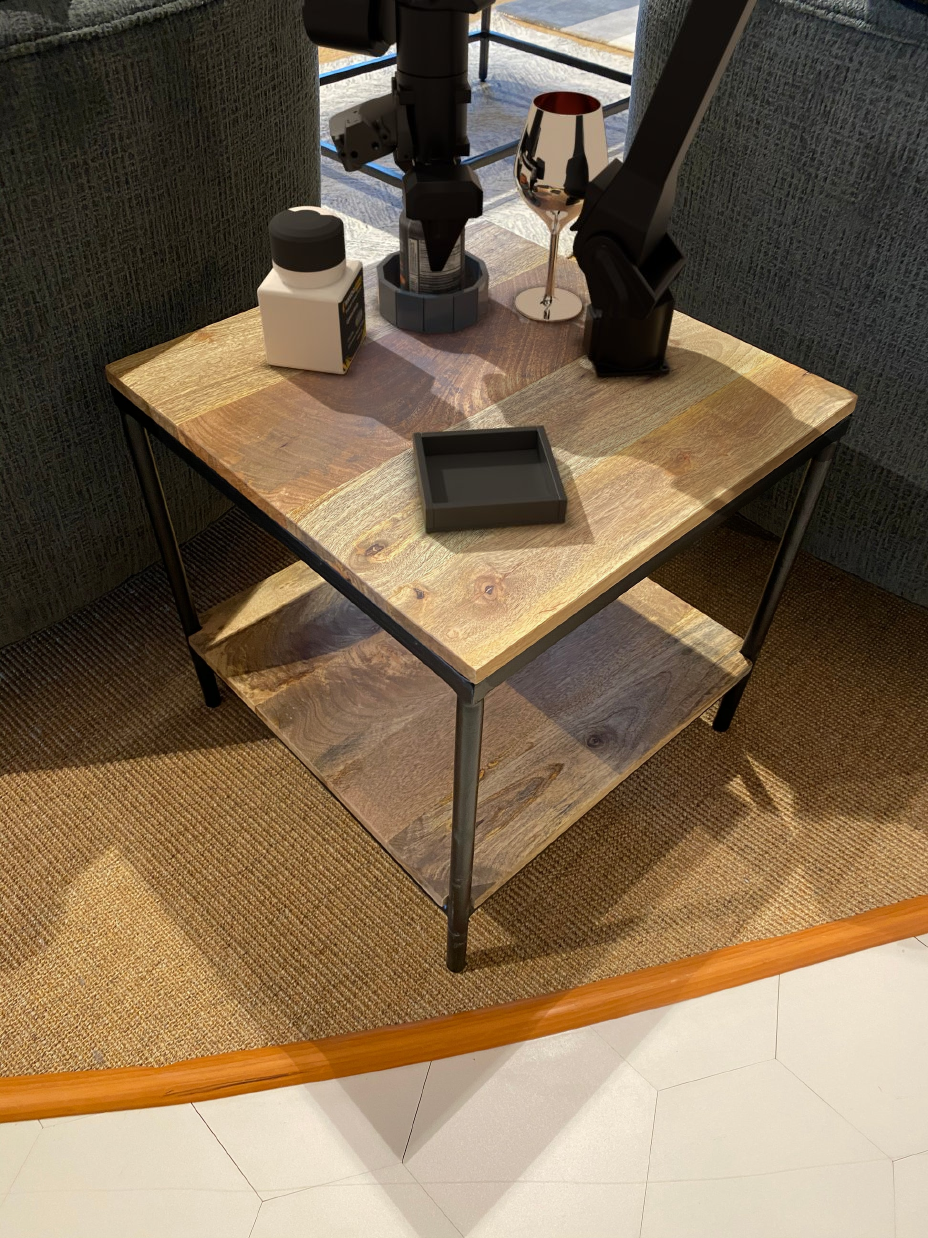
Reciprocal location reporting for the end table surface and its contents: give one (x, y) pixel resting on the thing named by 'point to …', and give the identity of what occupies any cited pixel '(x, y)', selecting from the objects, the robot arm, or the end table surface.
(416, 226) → the pill bottle
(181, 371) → the end table surface
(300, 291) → the medicine bottle
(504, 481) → the tray
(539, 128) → the wineglass
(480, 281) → the bowl
